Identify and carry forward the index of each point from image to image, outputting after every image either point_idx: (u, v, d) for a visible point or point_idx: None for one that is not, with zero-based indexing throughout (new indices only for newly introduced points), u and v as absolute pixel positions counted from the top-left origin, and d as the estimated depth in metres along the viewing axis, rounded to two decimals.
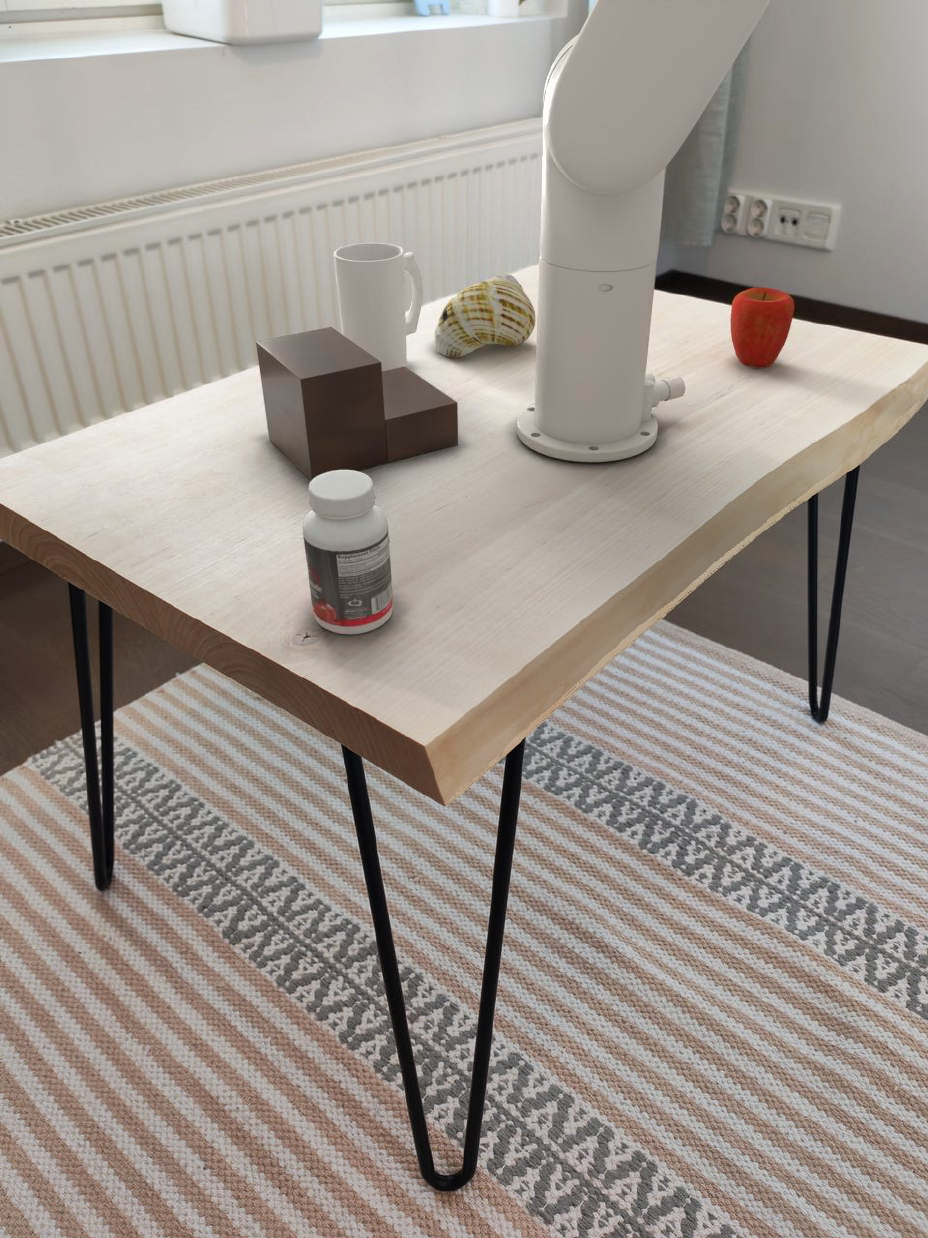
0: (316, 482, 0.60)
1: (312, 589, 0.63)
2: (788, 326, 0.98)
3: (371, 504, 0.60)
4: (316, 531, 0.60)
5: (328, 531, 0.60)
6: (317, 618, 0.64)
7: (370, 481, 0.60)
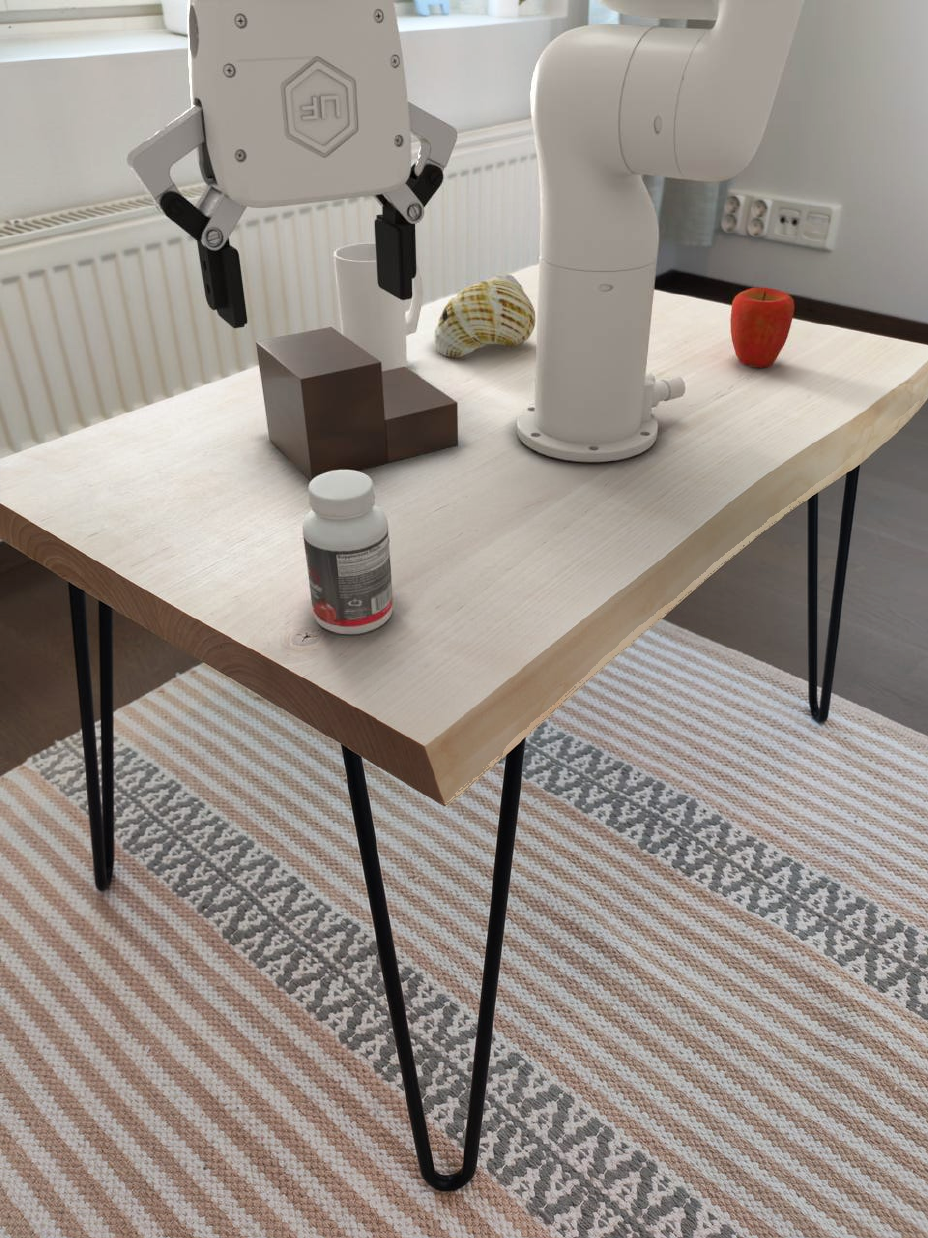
0: (316, 482, 0.60)
1: (312, 589, 0.63)
2: (788, 326, 0.98)
3: (371, 504, 0.60)
4: (316, 531, 0.60)
5: (328, 531, 0.60)
6: (317, 618, 0.64)
7: (370, 481, 0.60)
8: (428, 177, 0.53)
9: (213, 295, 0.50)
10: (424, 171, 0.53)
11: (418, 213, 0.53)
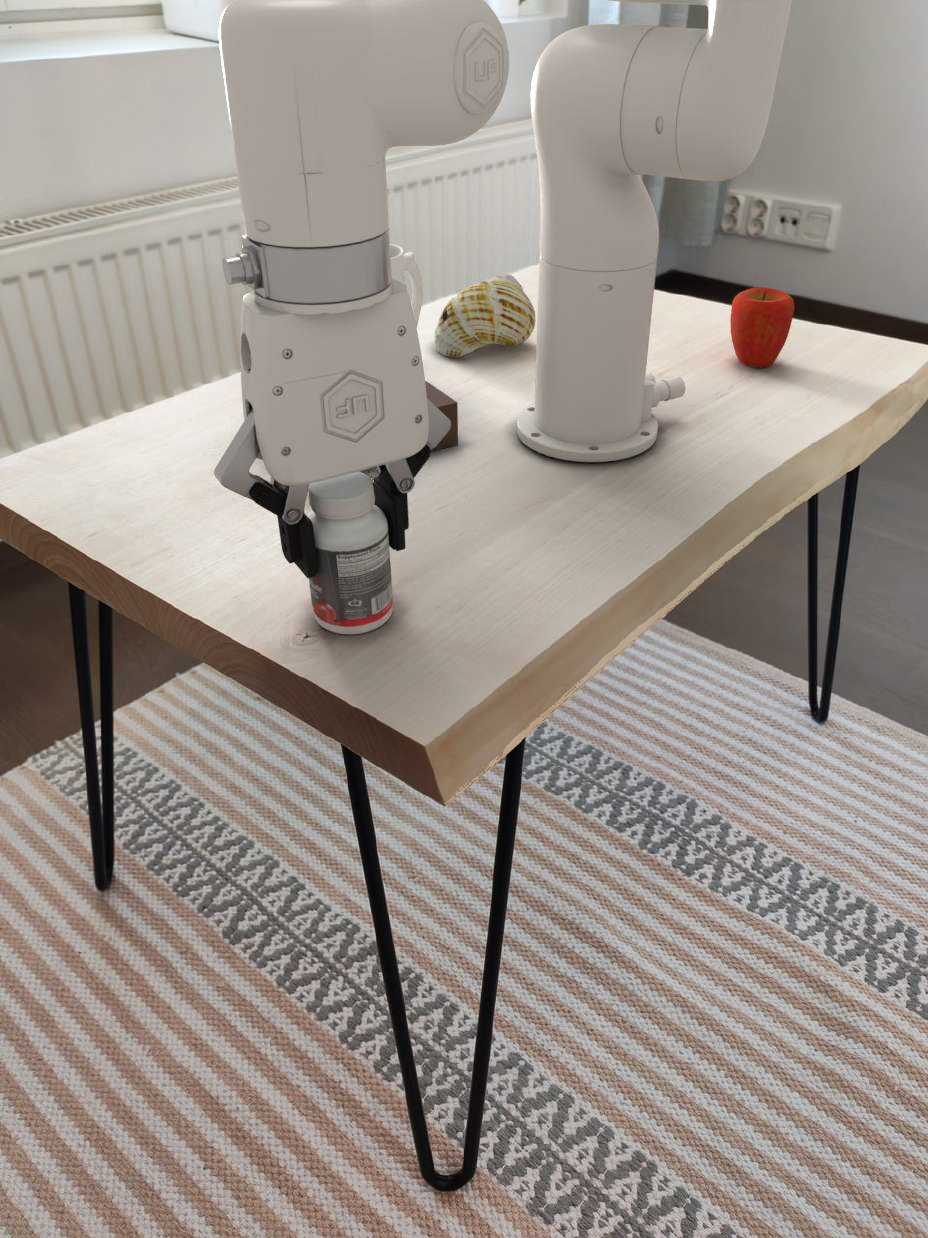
0: (316, 482, 0.60)
1: (312, 589, 0.63)
2: (788, 326, 0.98)
3: (371, 504, 0.60)
4: (316, 531, 0.60)
5: (328, 531, 0.60)
6: (317, 618, 0.64)
7: (370, 481, 0.60)
8: (418, 454, 0.61)
9: (290, 554, 0.60)
10: None
11: (409, 484, 0.61)
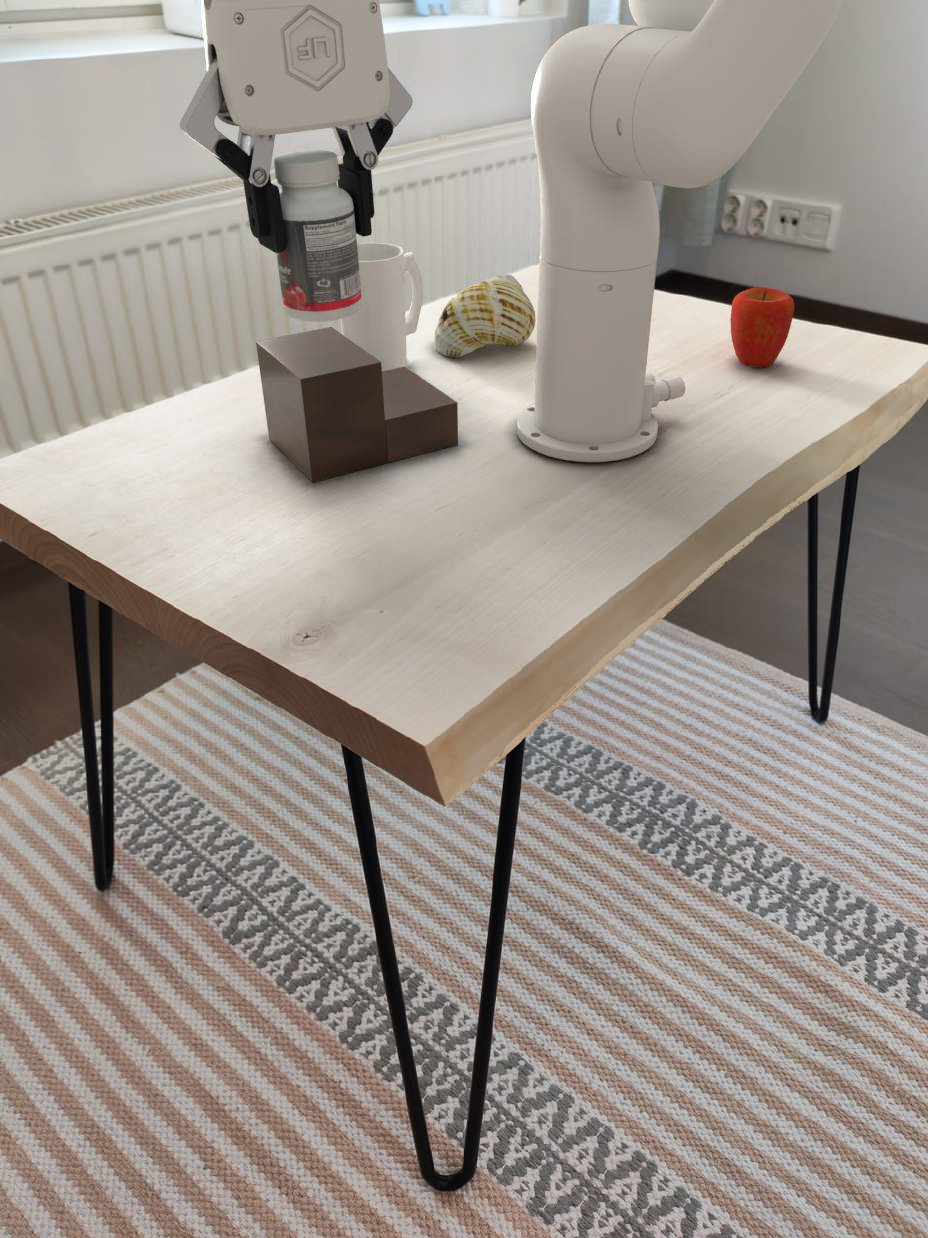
0: (281, 156, 0.61)
1: (281, 275, 0.64)
2: (788, 326, 0.98)
3: (336, 175, 0.61)
4: (283, 203, 0.61)
5: (295, 201, 0.61)
6: (288, 308, 0.65)
7: (334, 154, 0.62)
8: (380, 129, 0.62)
9: (258, 225, 0.61)
10: (376, 124, 0.62)
11: (373, 160, 0.62)
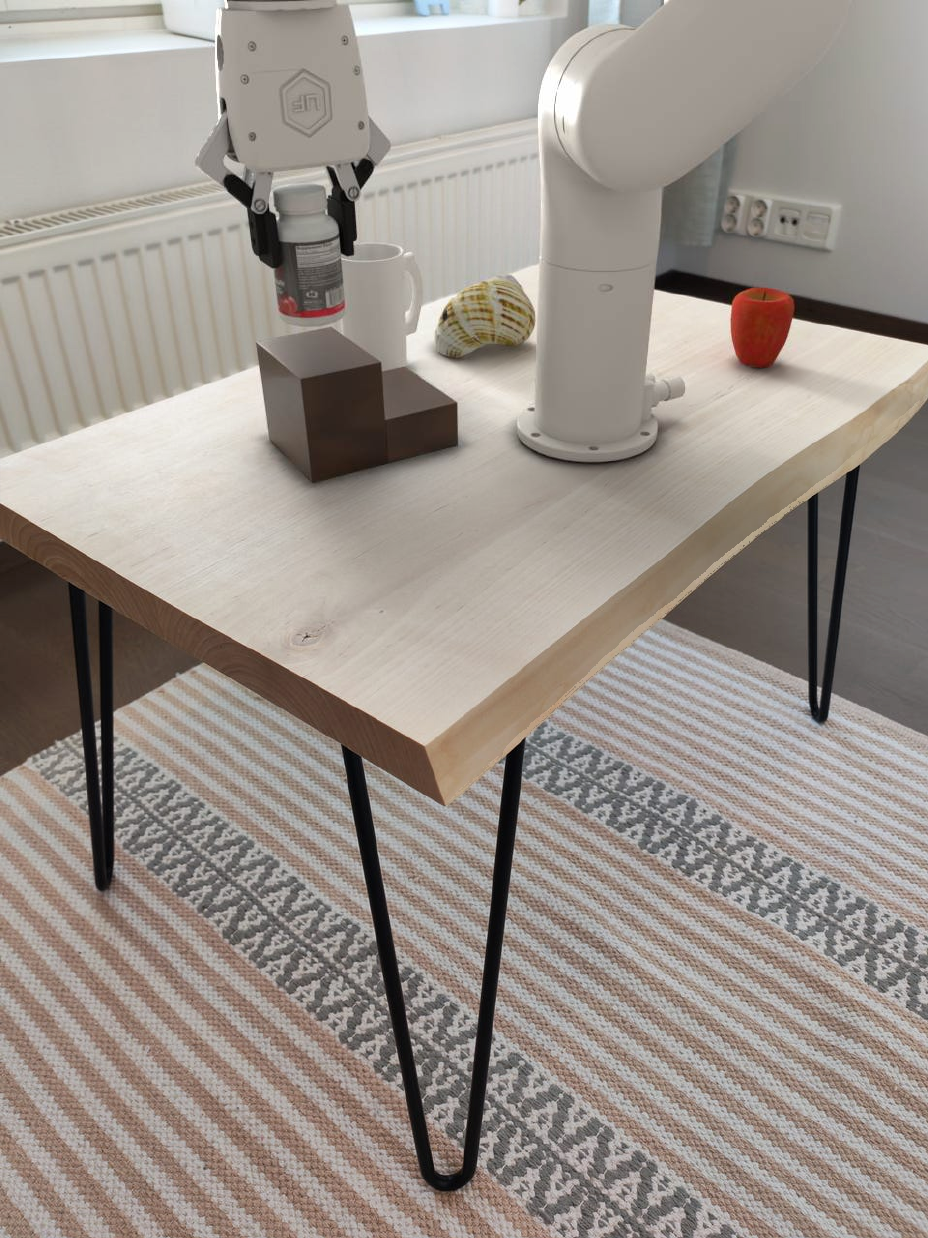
0: (279, 188, 0.74)
1: (277, 286, 0.77)
2: (788, 326, 0.98)
3: (324, 205, 0.74)
4: (279, 227, 0.74)
5: (289, 225, 0.73)
6: (282, 314, 0.78)
7: (323, 187, 0.74)
8: (363, 168, 0.74)
9: (258, 245, 0.73)
10: (360, 163, 0.74)
11: (356, 193, 0.75)
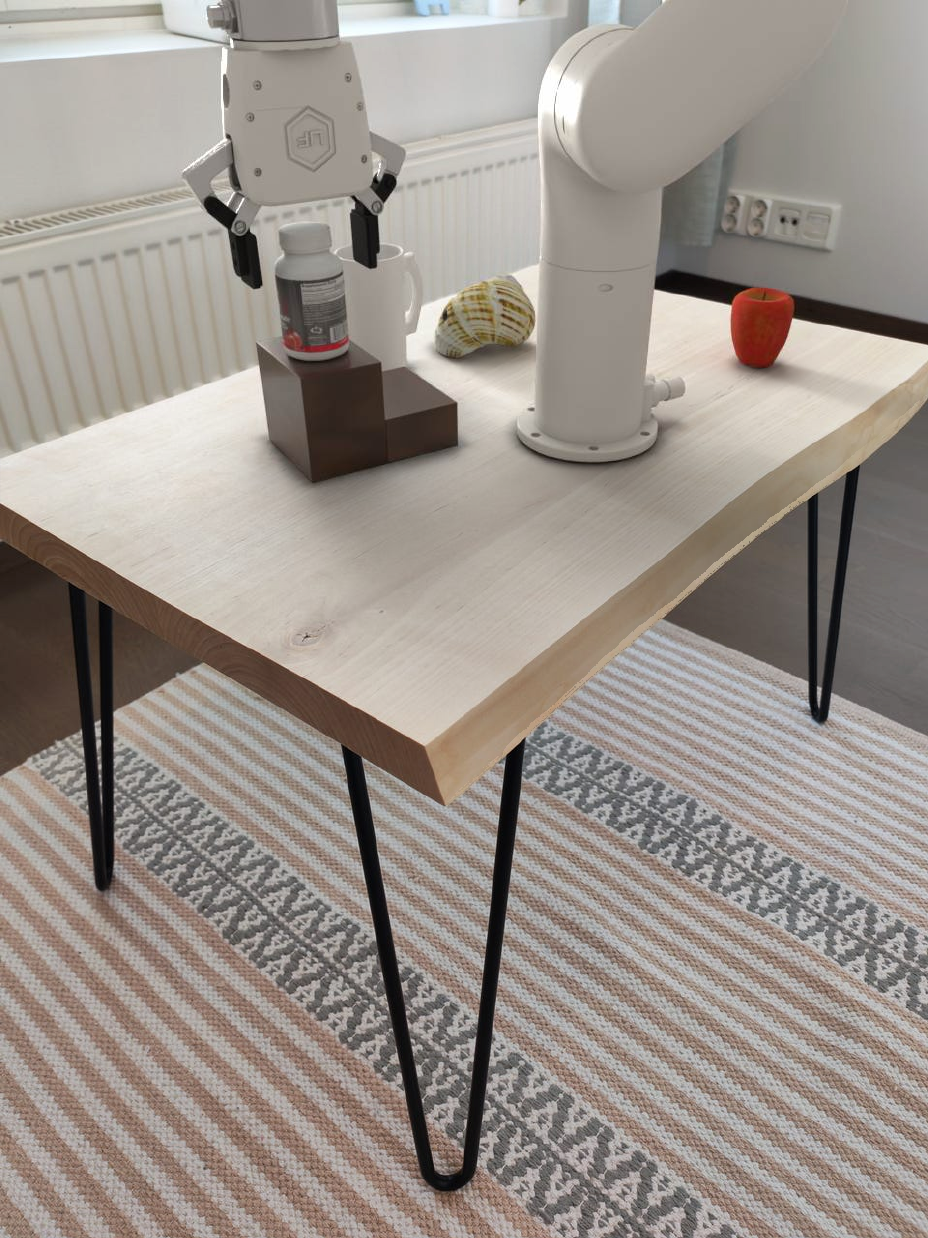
0: (284, 227, 0.75)
1: (282, 322, 0.78)
2: (788, 326, 0.98)
3: (328, 244, 0.75)
4: (284, 265, 0.75)
5: (294, 264, 0.75)
6: (287, 349, 0.79)
7: (327, 226, 0.75)
8: (386, 182, 0.76)
9: (239, 266, 0.73)
10: (383, 178, 0.76)
11: (379, 207, 0.76)
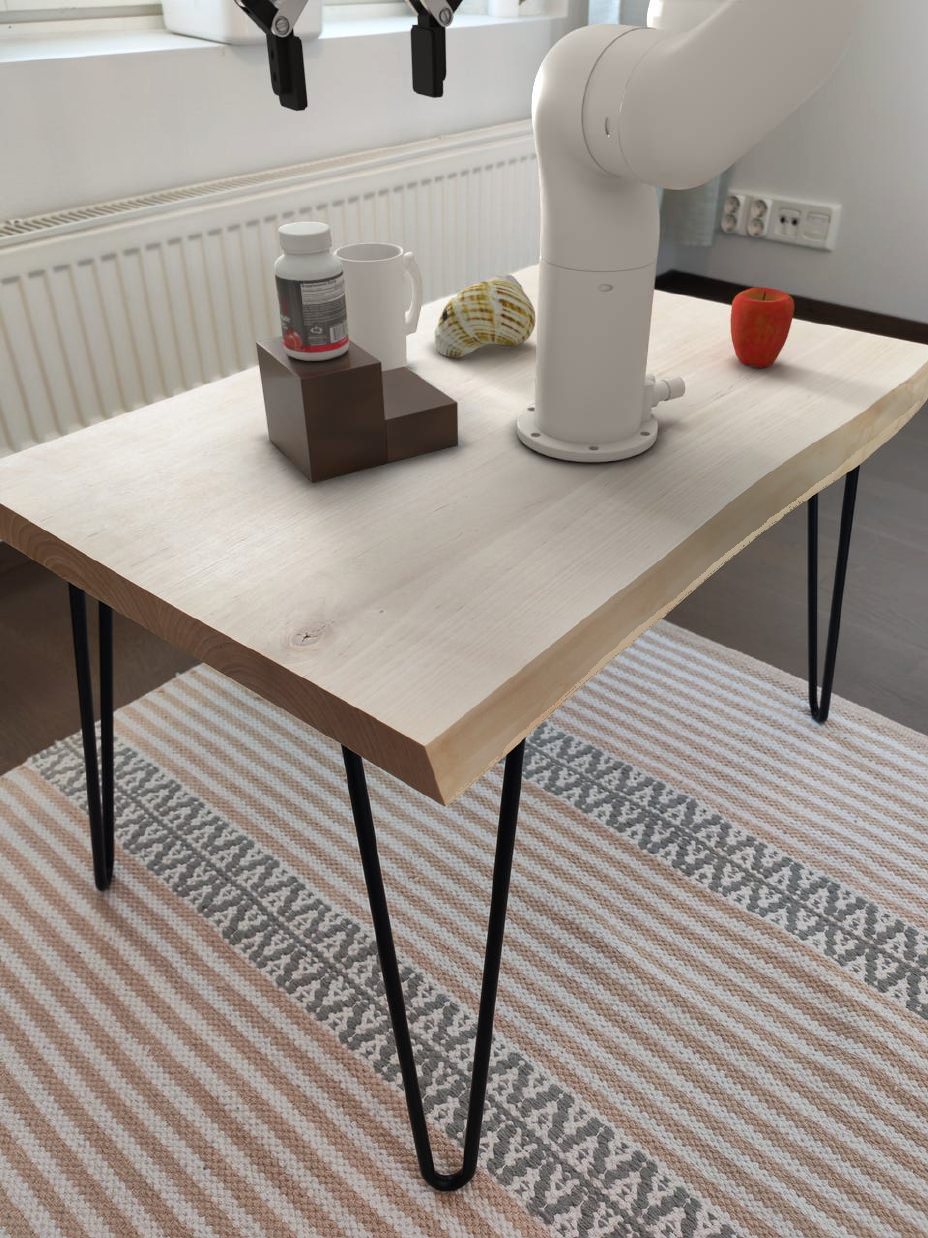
0: (284, 227, 0.75)
1: (282, 322, 0.78)
2: (788, 326, 0.98)
3: (328, 244, 0.75)
4: (284, 265, 0.75)
5: (294, 264, 0.75)
6: (287, 349, 0.79)
7: (327, 226, 0.75)
8: None
9: (279, 80, 0.60)
10: None
11: (448, 17, 0.63)
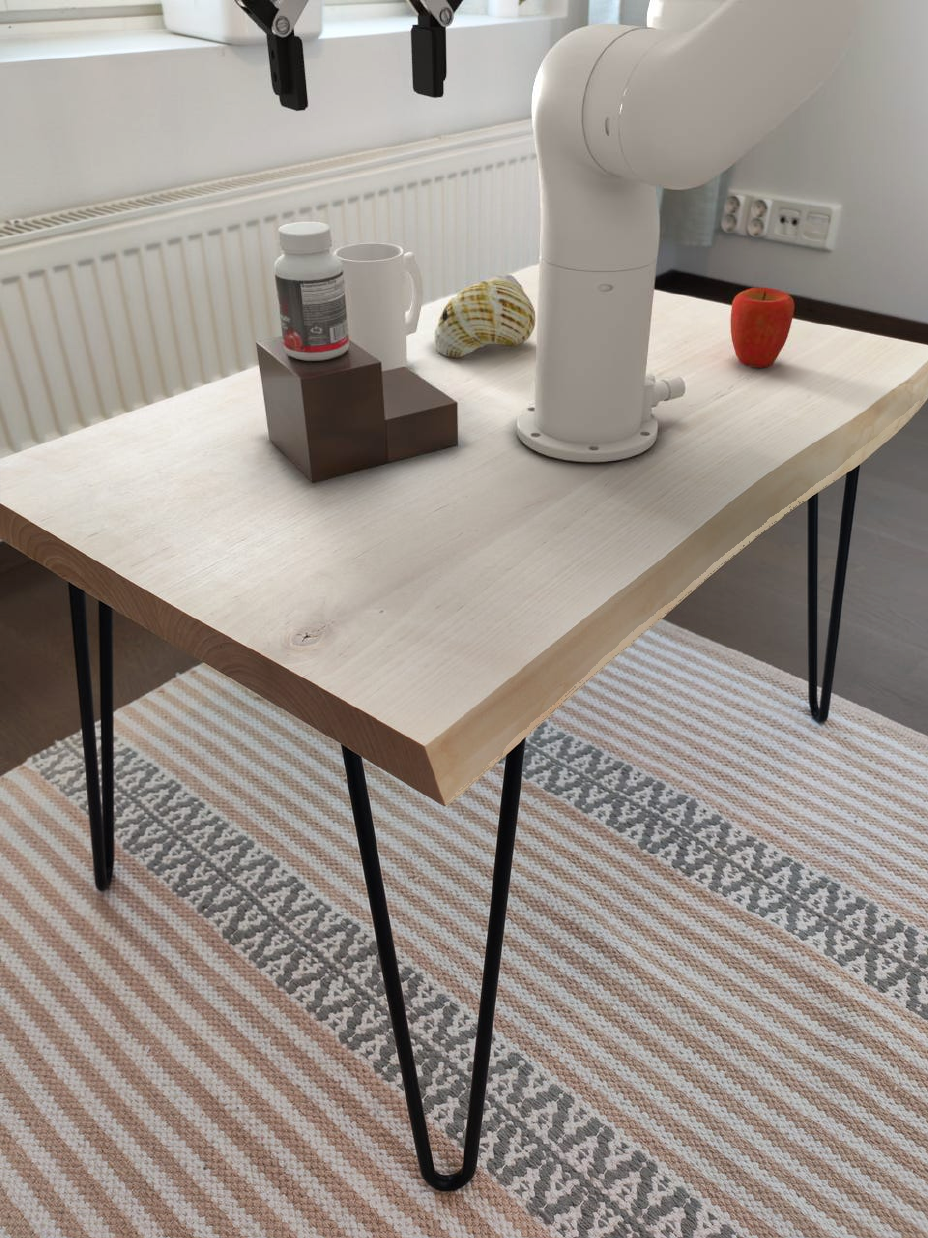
0: (284, 227, 0.75)
1: (282, 322, 0.78)
2: (788, 326, 0.98)
3: (328, 244, 0.75)
4: (284, 265, 0.75)
5: (294, 264, 0.75)
6: (287, 349, 0.79)
7: (327, 226, 0.75)
8: None
9: (279, 80, 0.60)
10: None
11: (448, 17, 0.63)
